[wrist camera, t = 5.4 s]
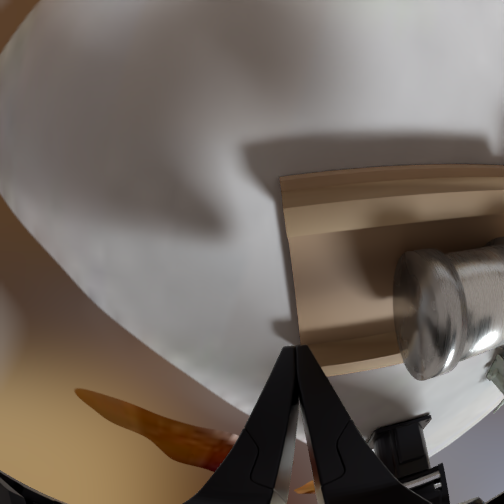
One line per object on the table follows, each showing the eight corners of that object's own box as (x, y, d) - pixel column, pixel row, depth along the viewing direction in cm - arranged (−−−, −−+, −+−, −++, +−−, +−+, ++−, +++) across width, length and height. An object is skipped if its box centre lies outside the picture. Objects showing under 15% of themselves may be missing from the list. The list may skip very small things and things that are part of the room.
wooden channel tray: (528, 300, 12) (571, 369, 6) (301, 353, 15) (306, 475, 9) (564, 170, 7) (639, 229, 1) (279, 176, 10) (289, 334, 4)
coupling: (477, 297, 12) (517, 363, 7) (387, 317, 12) (416, 403, 8) (499, 216, 9) (563, 277, 5) (399, 227, 10) (459, 315, 6)
